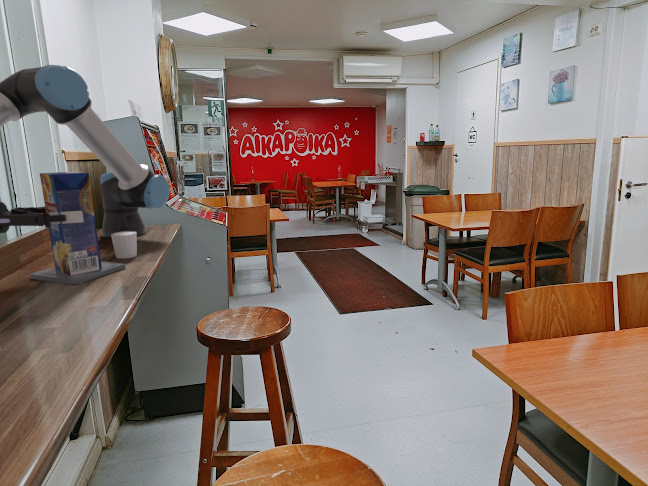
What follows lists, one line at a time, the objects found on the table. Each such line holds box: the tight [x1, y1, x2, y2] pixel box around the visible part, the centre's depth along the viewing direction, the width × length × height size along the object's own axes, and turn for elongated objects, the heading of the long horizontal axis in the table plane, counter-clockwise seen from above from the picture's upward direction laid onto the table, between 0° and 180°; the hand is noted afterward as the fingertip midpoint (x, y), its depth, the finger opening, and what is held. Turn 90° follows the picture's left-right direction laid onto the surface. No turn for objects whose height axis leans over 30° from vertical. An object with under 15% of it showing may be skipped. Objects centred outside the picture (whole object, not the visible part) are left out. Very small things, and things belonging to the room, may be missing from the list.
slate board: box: [29, 260, 126, 285], centre depth 108 cm, size 15×15×1 cm
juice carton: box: [39, 171, 102, 276], centre depth 105 cm, size 12×8×24 cm, turn 46°
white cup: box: [111, 231, 138, 260], centre depth 125 cm, size 7×7×7 cm
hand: (88, 212), depth 106 cm, fingers open, 12 cm apart
